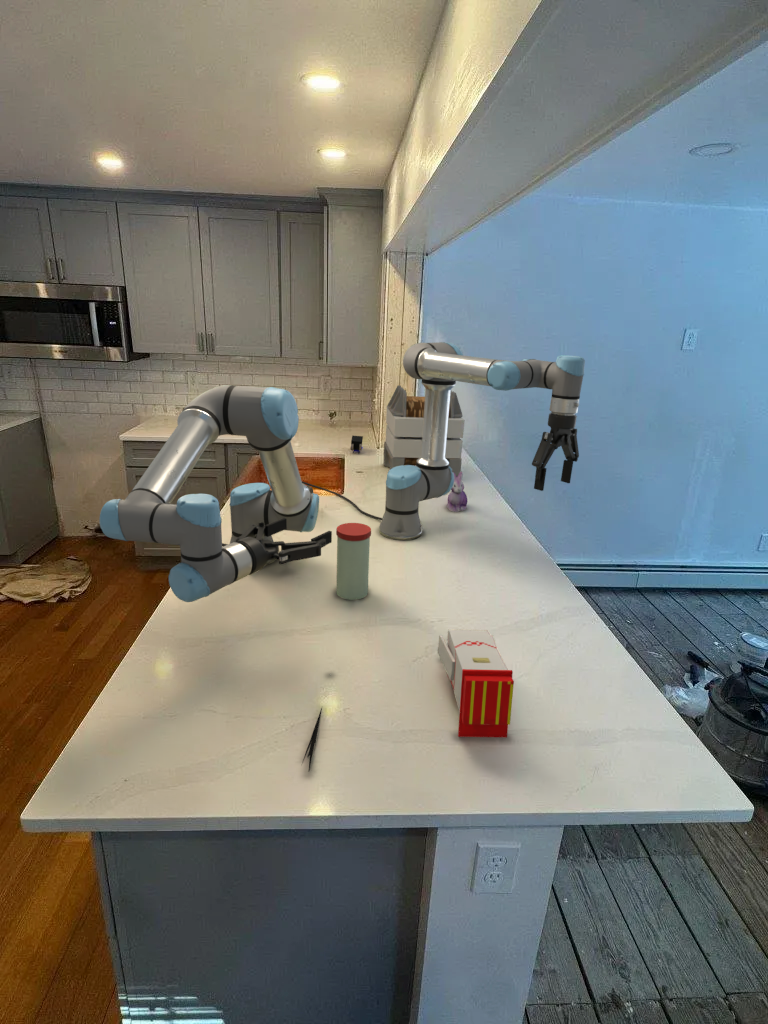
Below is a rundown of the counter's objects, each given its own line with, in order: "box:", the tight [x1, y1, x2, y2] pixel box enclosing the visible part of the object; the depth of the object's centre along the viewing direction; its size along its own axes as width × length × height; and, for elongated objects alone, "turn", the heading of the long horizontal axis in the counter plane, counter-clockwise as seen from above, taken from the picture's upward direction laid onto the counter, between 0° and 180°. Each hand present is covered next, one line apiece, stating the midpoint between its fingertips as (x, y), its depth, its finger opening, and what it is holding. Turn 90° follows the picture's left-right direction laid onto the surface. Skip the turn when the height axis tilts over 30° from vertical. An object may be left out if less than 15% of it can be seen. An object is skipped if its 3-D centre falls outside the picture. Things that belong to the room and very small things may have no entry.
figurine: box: [446, 471, 468, 512], centre depth 225 cm, size 9×10×15 cm
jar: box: [336, 535, 371, 601], centre depth 155 cm, size 9×9×18 cm
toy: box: [437, 628, 515, 738], centre depth 117 cm, size 12×13×30 cm
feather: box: [301, 673, 332, 771], centre depth 108 cm, size 2×28×2 cm
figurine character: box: [350, 435, 364, 454], centre depth 309 cm, size 7×8×15 cm
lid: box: [335, 522, 372, 541], centre depth 151 cm, size 9×9×2 cm
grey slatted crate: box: [383, 384, 465, 476], centre depth 268 cm, size 34×33×41 cm
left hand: (307, 529), depth 133 cm, fingers open, 13 cm apart
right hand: (552, 485), depth 166 cm, fingers open, 13 cm apart
